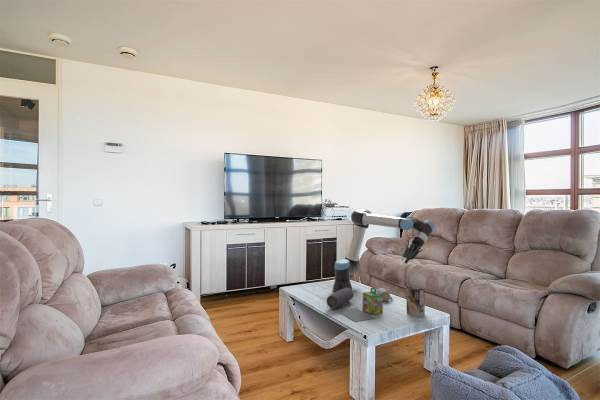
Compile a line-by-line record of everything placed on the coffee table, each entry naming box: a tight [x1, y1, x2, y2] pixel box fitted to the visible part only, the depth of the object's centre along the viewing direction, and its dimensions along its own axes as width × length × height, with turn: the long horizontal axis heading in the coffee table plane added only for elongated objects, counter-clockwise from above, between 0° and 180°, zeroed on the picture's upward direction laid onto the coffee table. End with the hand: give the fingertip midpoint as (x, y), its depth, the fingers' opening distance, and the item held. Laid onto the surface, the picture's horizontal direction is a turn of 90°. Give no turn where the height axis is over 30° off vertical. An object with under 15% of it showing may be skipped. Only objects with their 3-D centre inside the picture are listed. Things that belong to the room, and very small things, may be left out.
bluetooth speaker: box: [326, 288, 354, 309], centre depth 213 cm, size 23×9×10 cm, turn 145°
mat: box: [336, 307, 375, 323], centre depth 195 cm, size 20×14×1 cm
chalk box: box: [362, 286, 384, 316], centre depth 201 cm, size 9×9×15 cm
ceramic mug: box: [376, 287, 393, 302], centre depth 225 cm, size 11×8×8 cm
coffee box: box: [405, 286, 426, 318], centre depth 195 cm, size 9×6×16 cm
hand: (401, 266), depth 213 cm, fingers closed
